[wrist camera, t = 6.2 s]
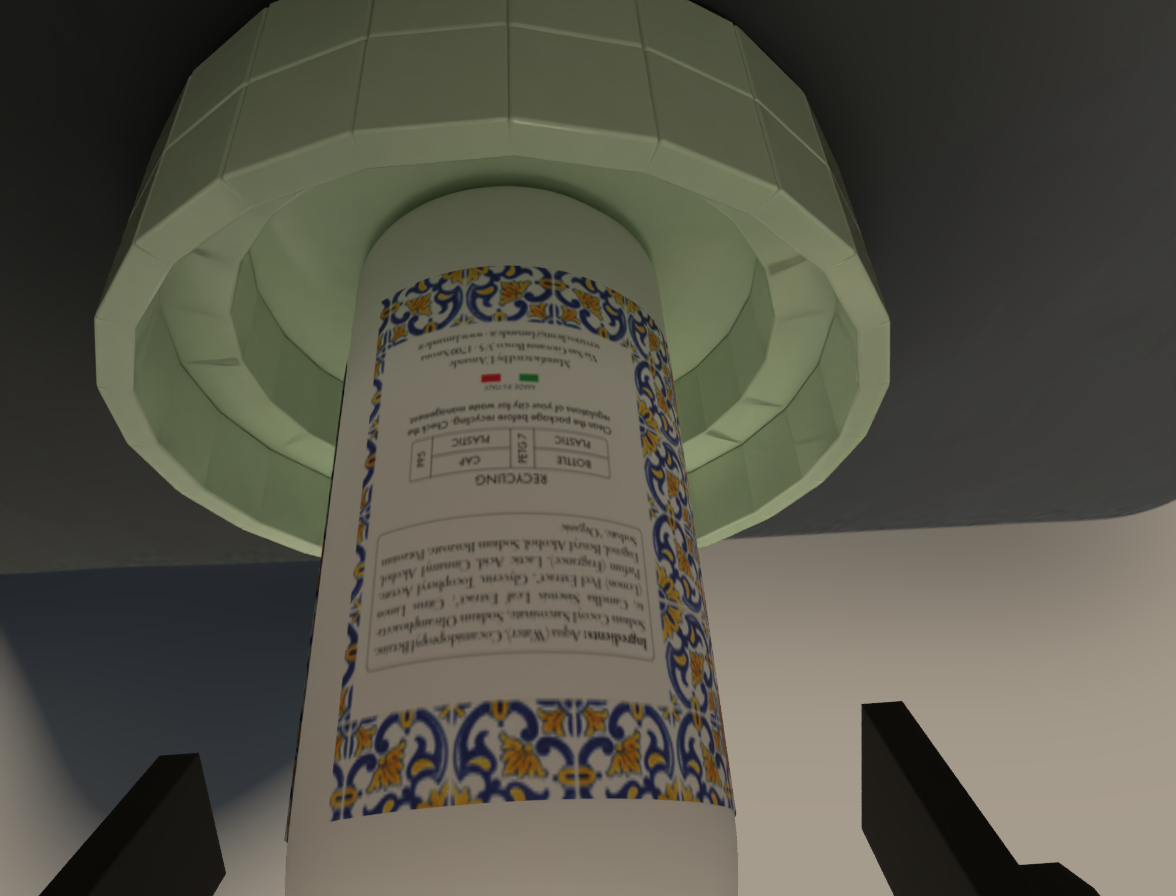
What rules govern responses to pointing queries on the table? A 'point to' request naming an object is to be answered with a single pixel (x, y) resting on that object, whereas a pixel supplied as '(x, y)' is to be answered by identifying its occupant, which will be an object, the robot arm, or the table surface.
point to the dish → (474, 160)
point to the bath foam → (510, 579)
